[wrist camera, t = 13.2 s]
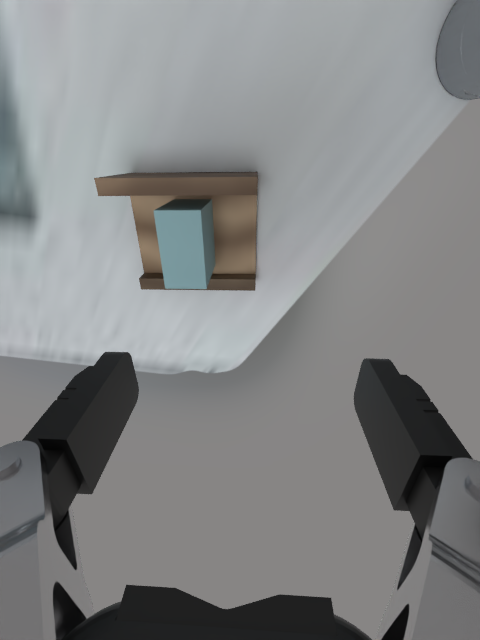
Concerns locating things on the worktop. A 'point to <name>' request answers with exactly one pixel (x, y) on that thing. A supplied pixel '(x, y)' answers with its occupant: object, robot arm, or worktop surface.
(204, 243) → the cabinet block
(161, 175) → the wall rack
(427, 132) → the worktop surface
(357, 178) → the worktop surface
